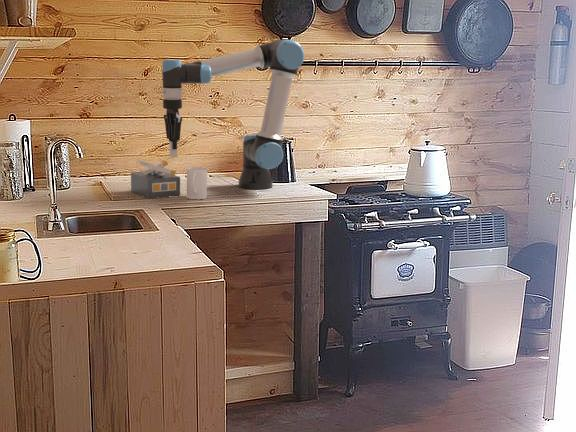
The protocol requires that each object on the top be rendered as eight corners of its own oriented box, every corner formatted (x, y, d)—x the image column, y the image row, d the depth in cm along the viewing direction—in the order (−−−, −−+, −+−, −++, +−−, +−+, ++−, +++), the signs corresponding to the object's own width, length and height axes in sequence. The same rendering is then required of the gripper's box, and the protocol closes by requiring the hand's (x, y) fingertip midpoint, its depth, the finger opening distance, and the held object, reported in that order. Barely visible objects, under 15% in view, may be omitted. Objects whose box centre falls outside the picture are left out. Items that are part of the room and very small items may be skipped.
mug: (201, 202, 303) (201, 172, 300) (180, 200, 305) (180, 170, 302) (209, 196, 314) (210, 167, 312) (189, 195, 316) (190, 166, 313)
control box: (162, 188, 327) (162, 165, 325) (180, 196, 312) (180, 172, 310) (131, 191, 320) (130, 167, 318) (148, 199, 305) (148, 174, 303)
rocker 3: (171, 173, 314) (172, 170, 314) (174, 175, 311) (175, 171, 311) (147, 167, 307) (148, 163, 307) (150, 169, 305) (151, 165, 305)
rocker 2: (164, 163, 318) (163, 159, 317) (168, 164, 315) (166, 161, 314) (141, 173, 313) (140, 170, 312) (144, 175, 310) (143, 171, 310)
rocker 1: (159, 169, 323) (160, 165, 323) (162, 170, 321) (163, 167, 321) (136, 163, 317) (137, 159, 317) (139, 164, 314) (140, 160, 314)
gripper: (157, 97, 309) (158, 155, 314) (170, 100, 298) (171, 159, 303) (174, 97, 313) (175, 154, 318) (187, 99, 302) (188, 158, 307)
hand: (173, 157), depth 311 cm, fingers closed
